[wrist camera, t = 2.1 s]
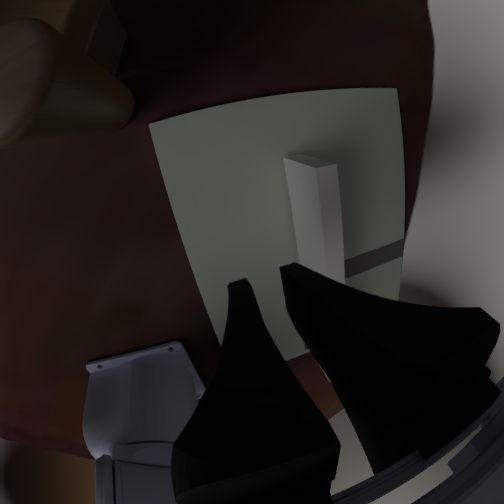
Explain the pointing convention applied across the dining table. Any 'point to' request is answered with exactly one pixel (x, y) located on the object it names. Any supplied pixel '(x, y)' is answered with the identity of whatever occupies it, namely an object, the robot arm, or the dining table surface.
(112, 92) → the wooden toy
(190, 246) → the board
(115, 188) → the dining table surface
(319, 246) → the fence panel
